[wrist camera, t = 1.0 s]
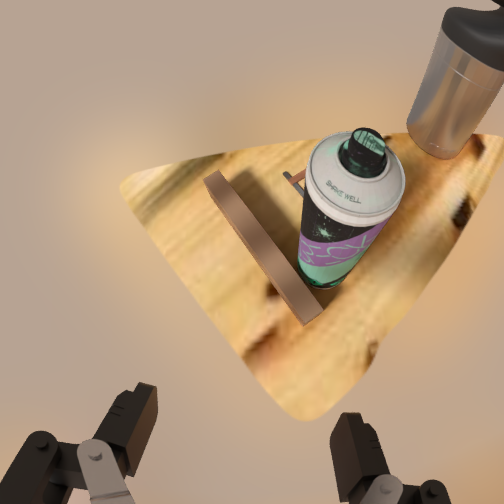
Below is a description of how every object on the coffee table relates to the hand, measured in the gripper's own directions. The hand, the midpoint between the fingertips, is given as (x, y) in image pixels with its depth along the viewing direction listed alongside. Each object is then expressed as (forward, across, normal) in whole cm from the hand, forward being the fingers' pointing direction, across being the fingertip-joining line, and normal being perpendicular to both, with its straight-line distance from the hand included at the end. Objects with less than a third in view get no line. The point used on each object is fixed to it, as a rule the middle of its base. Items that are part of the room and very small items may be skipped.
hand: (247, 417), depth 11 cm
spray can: (+21, -7, -1) cm, 22 cm away
